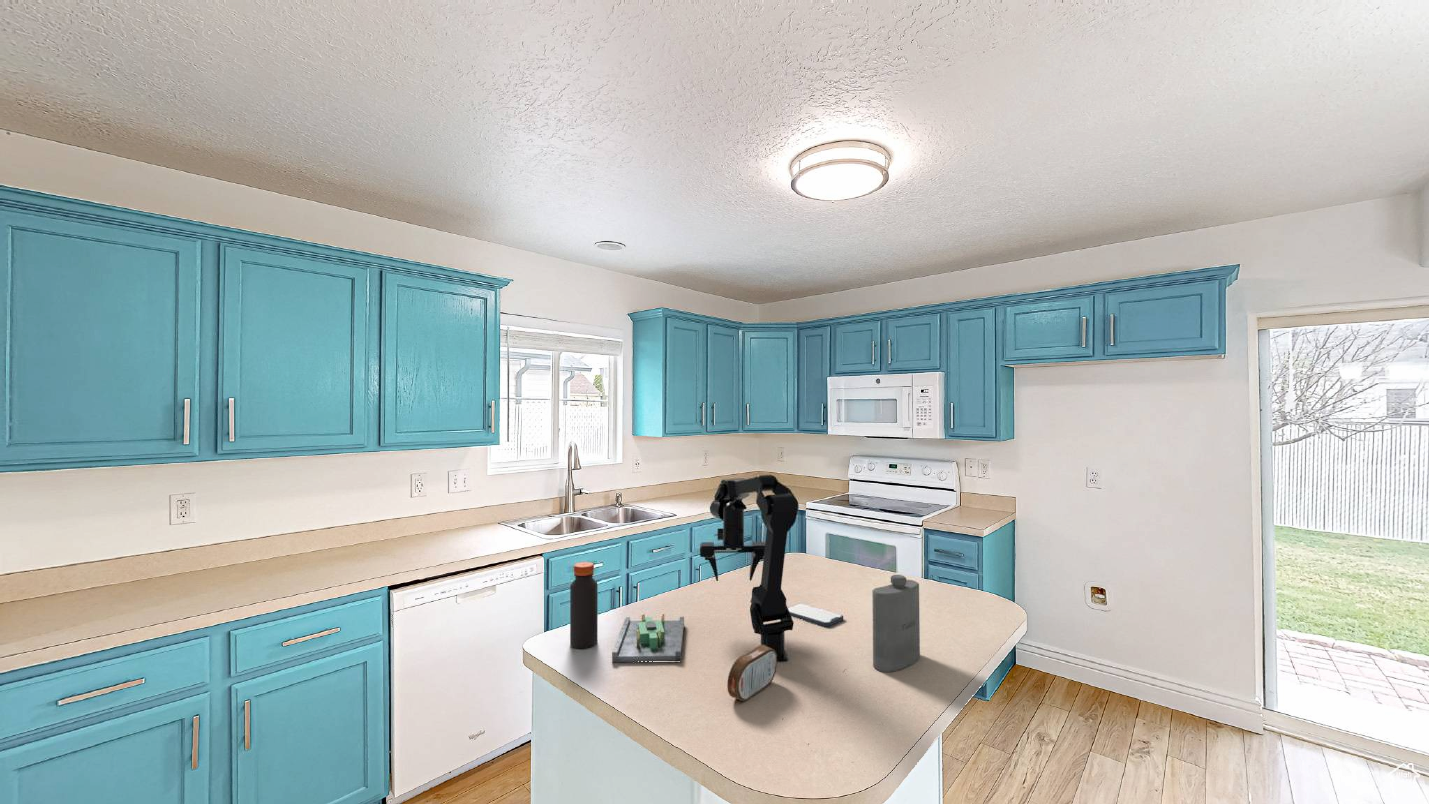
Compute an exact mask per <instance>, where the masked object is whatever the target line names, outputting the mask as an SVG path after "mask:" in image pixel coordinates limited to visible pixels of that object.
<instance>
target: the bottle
mask: <svg viewBox="0 0 1429 804" xmlns="http://www.w3.org/2000/svg"><path fill="white" fill-rule="evenodd" d="M594 566H595V563H594V562H590V561H581V562H577V563H575V564H573V576H574V577H575V579H574V580H573V581H572V582H571V584H570V586H569V588H570V589H569V593H570V594H569V595H570V598H569V599H570V601H569V603H570V604H569V610H570V611H569V612H570V613H569V614H570V615H569V619H570V621H569V622H570V623H569V632H570V634H569V644H570V646H571V647H572V648H573V649H578V650H582V649H583V650H584V649H588V648H589V649H590V648H592V647H594V646H596V645H597V643H598V639H599V638H598V631H599V630H598V627H599V626H598V623H599V622H598V617H599V616H598V612H599V610H598V600H599V599H598V594H599V593H598V591H599V590H598V589H599V588H598V587H599V586H598V582H597V580H596V579H594V578H593V576H594V573H595V572H594V571H595V567H594Z"/></svg>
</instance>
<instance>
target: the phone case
mask: <svg viewBox="0 0 1429 804" xmlns="http://www.w3.org/2000/svg"><path fill="white" fill-rule="evenodd" d="M788 610H789V612H790V615H791V617H792V616H793V617H792V618H795V617H797V618H796V619H798V618H799V619H798V620H801V619H803V620H802V621H804V620H805V621H804V622H808V623H810V622H811V624H814V625H816V624H817V626H819V625H820V627H822V626H823V628H831V627H833V626H836V625H837V624H839V622H840V623H842V622H844V615H842V614H840V613H837V612H834V611H830V610H826V609H821V608H818V607H816V606H811V605H807V604H804V603H796V604H794V605H792V606H788Z"/></svg>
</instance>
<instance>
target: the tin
mask: <svg viewBox="0 0 1429 804" xmlns="http://www.w3.org/2000/svg"><path fill="white" fill-rule="evenodd" d="M777 662H778V661H777V654H776V652H775V650H773V649H772V648H769V647H767V646H766V645H761V644H760V645H758V646H756V647H754V648H753V649H751V650H749V651H747V652H746V653H744V654H742V655H741V656H738V658H736V659H735V661H734V662H733V664H732V666H731V668H730V670H729V673H728V677H727V681H726V682H727V688H726V689H727V691H728V694H729V696H730V697H731V698H734V699H737V700H738V701H741V702H746V701H748V700H749V699H751V698H752V697H754V696H755V695H757V694H759V693H760V692H761V691H763V690H764V689H766V688H767V687H769V685H770V684H771V683H772V681H773V680H774V677H775V675H776V672H777V664H778V663H777ZM759 691H760V692H759ZM756 693H757V694H756ZM753 695H754V696H753Z"/></svg>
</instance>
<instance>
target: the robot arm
mask: <svg viewBox="0 0 1429 804" xmlns="http://www.w3.org/2000/svg"><path fill="white" fill-rule="evenodd" d="M763 492H771V493H773V494H768V495H764V493H763ZM753 493H756V500H755V502H756V503H755V504H756V505H757V508H759V510H760V512H761V515H760V516H761V520H762V522H763V523H764V525H765V528H766V532H765V533H766V534H765V541H752V544H751V545H745V510H747V506H746V504H744V502H743V500H744V499H746V498H747V497H749V496H750V494H753ZM799 507H800V505H799V501H798V500H797V498H796V496H795V495H794V493H793V491H792V490H791V489H790V488H789V487H788V486H786V485H784V484H783V483H781V482H780V481H779V480H778V479H777V477H776V476H775V475H772V474H758V475H757V476H754V477H748V478H744V477H742V478H740V477H739V478H736V477H735V478H723V479H721V480H720V483H719V485H718V487H717V490H716V492H715V494H714V499H713V501H712V502H711V504H710V506H709V511H710V514H711V515H712V516H713V517H714V518H717V519H719V520H721V521H723V524H722V525H723V526H722V528H717V533H716V534H717V541H722V545H715V542H713V541H712V542H709V541H708V542H704V541H703V542H701V543H700V544H699V557H700V558H704V560H705V561H708V562H709V564H710V567H711V568H712V571H713V574H714V577H715V580H716V582H718V581H719V573H718V567H717V559H716V554H722V553H723V554H727V553H729V554H731V553H735V554H737V553H741V554H742V553H750V555H751V556H750V566H749V574H748V575H749V581H752V580H753V577H754V574H755V571H756V569H757V567H758V565H759V563H760V561H761V560H763V562H762V571H761V581H760V584H759V585H758V586H754V587H753V588H751V600H750V601H749V602H750V606H749V613H750V619H751V620H750V621H751V626H752V629H753V633H754V634H757V635H760V645H766V646H767V647H769V648H772V649H773V650H775V652H776V654H777V662H787V661H788V660H789V658H788V655H787V652H786V649H785V647H786V645H785V641H786V640H785V639H786V638H785V631H786V632H787V631H792V630H793V629H794V623H795V622H794V621H793V620H794V619H793V617H792V616H791V615H790V612H789V610H788V608H789V606H787V598H786V596H785V593H784V592H783V590H782V582H783V573H784V565H785V559H786V557H785V555H786V547H787V541H788V539H787V538H788V533H789V531H790V530H791V528H792V527H793V526H794V524H795V523H796V521H797V516H798V512H799ZM773 621H774V622H773ZM767 622H770V623H767Z"/></svg>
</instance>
